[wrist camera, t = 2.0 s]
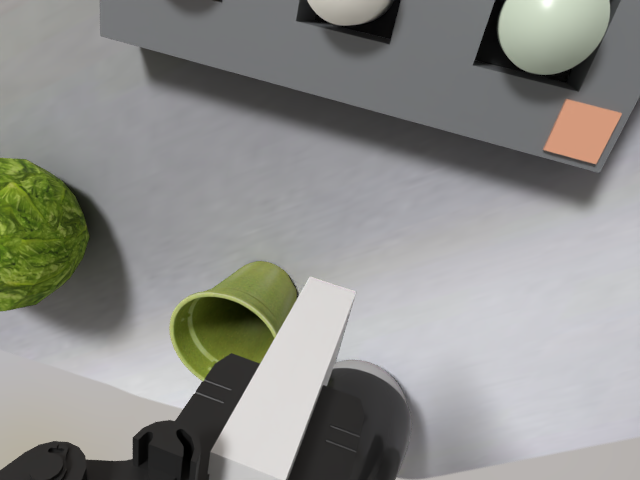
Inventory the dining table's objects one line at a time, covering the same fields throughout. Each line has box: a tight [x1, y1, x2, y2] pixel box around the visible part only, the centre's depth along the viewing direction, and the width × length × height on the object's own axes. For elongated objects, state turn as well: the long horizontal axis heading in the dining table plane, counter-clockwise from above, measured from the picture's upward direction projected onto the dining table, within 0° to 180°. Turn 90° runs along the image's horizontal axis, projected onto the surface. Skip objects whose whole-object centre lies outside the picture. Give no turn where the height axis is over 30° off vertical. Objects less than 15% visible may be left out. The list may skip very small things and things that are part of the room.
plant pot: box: [169, 261, 297, 381], centre depth 40 cm, size 9×9×9 cm
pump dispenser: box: [327, 360, 412, 480], centre depth 38 cm, size 10×10×15 cm
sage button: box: [497, 0, 610, 75], centre depth 25 cm, size 5×5×4 cm
